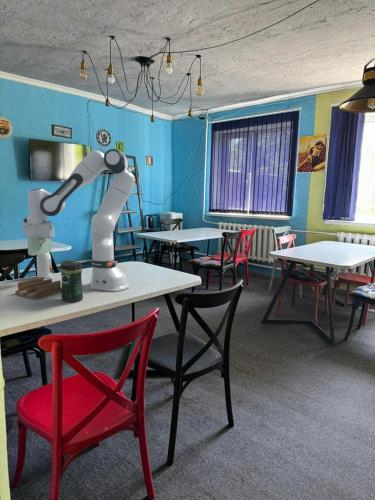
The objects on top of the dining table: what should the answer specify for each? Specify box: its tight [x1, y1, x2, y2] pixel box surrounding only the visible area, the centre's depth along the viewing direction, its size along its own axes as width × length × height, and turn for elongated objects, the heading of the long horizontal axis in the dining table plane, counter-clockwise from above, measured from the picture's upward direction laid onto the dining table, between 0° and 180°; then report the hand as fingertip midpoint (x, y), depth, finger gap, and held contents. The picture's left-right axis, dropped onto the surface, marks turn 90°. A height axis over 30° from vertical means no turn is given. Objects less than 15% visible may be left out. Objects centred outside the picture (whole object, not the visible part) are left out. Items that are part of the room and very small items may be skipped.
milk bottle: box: [36, 252, 53, 279], centre depth 197 cm, size 8×8×20 cm
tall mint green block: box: [26, 235, 52, 256], centre depth 184 cm, size 3×12×10 cm, turn 152°
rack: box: [14, 277, 62, 301], centre depth 170 cm, size 15×16×6 cm
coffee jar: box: [60, 260, 84, 303], centre depth 160 cm, size 10×8×19 cm
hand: (39, 245), depth 184 cm, fingers closed on tall mint green block, 3 cm apart
